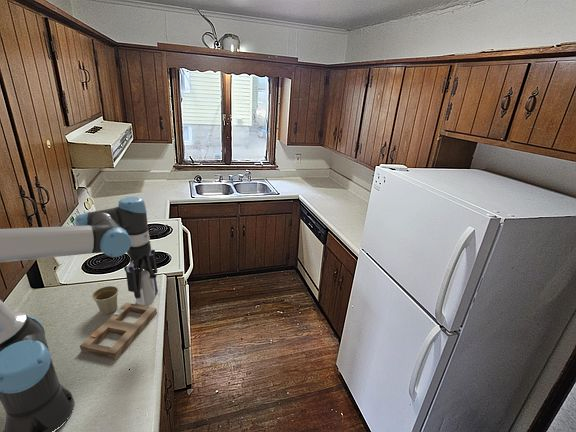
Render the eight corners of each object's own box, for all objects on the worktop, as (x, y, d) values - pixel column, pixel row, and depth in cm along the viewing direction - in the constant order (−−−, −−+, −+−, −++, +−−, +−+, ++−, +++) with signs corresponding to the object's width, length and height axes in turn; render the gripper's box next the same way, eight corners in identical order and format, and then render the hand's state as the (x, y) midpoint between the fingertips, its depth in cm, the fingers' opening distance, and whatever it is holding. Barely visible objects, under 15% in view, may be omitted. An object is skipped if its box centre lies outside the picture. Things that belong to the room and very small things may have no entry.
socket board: (116, 358, 105) (114, 352, 104) (81, 351, 107) (79, 345, 106) (156, 312, 127) (156, 307, 126) (126, 307, 129) (125, 301, 128)
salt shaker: (149, 308, 109) (144, 278, 104) (134, 305, 110) (129, 275, 105) (158, 298, 114) (154, 269, 110) (145, 296, 115) (140, 266, 110)
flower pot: (123, 300, 133) (119, 284, 129) (120, 314, 125) (116, 297, 121) (98, 304, 130) (94, 288, 126) (94, 319, 122) (89, 302, 118)
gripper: (129, 257, 94) (139, 317, 102) (163, 232, 111) (169, 285, 120) (107, 253, 95) (119, 313, 104) (145, 229, 112) (152, 282, 121)
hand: (146, 298), depth 112 cm, fingers closed on salt shaker, 6 cm apart
